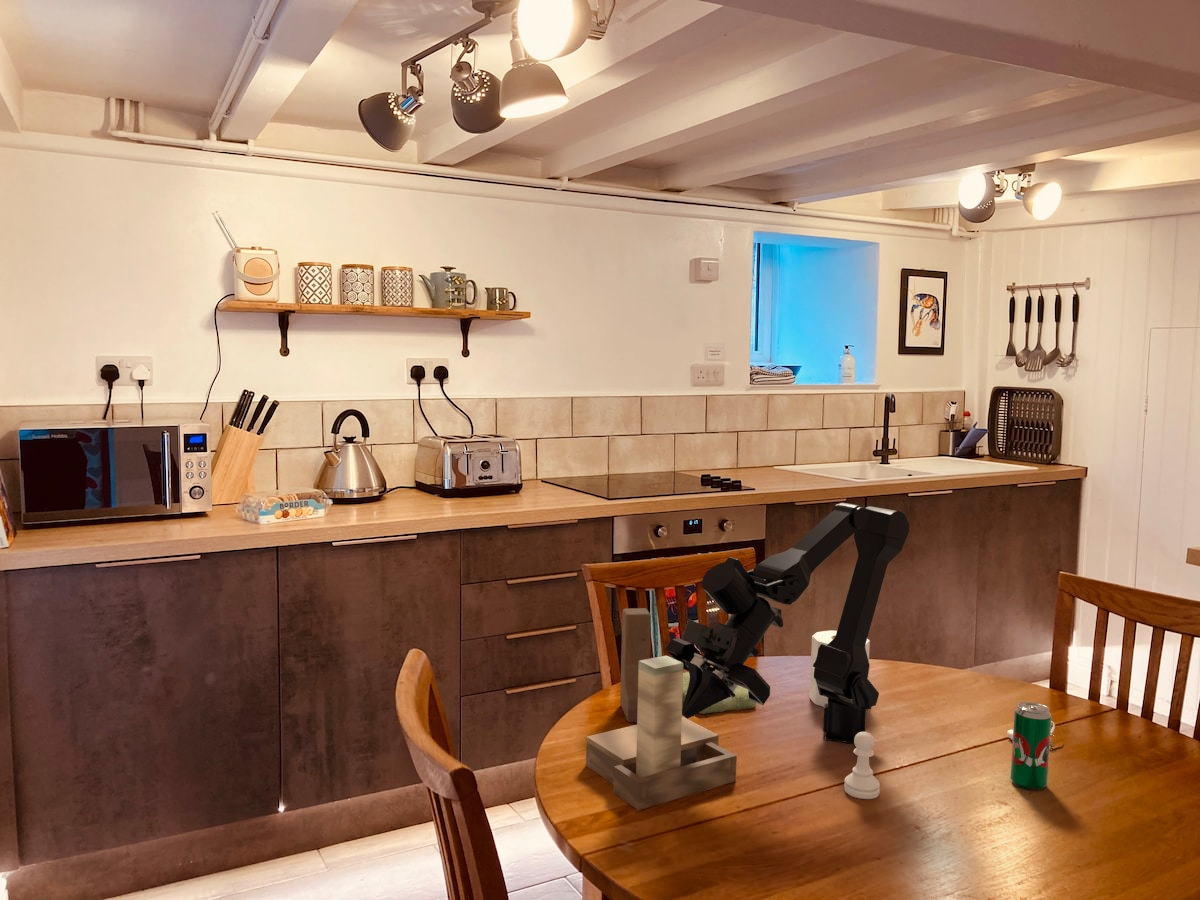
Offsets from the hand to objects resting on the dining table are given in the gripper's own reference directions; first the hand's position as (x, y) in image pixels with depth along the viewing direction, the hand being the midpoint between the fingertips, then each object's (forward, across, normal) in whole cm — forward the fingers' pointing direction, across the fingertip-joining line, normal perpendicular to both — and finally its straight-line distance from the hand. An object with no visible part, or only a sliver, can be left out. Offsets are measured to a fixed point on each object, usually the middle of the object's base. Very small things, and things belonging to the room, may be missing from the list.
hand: (684, 716), depth 138 cm
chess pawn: (-7, +16, +22) cm, 28 cm away
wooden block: (0, -26, +15) cm, 30 cm away
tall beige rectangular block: (+10, 0, +4) cm, 11 cm away
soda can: (-24, +27, +39) cm, 53 cm away
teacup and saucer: (-36, +15, +52) cm, 65 cm away
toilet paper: (-25, -12, +41) cm, 50 cm away
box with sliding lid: (+8, -5, +7) cm, 11 cm away
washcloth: (-11, -27, +27) cm, 40 cm away
